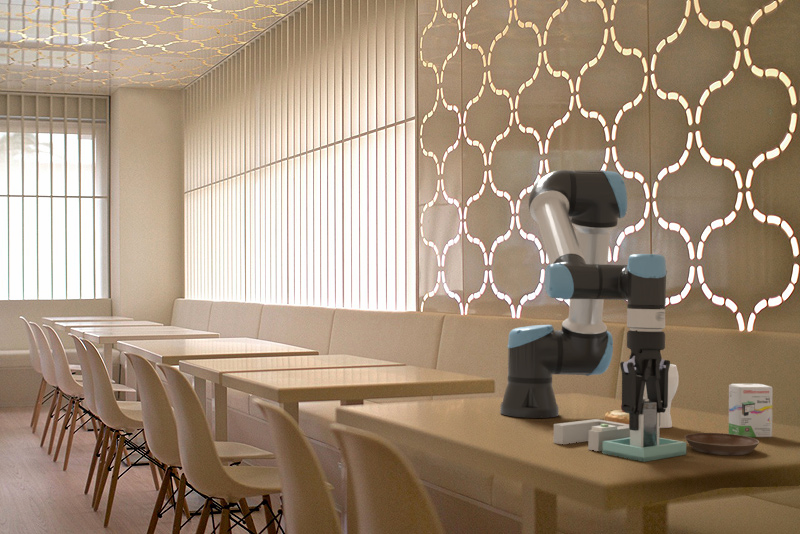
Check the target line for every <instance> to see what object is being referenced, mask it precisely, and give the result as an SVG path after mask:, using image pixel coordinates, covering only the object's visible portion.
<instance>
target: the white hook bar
mask: <svg viewBox="0 0 800 534" xmlns="http://www.w3.org/2000/svg"><path fill="white" fill-rule="evenodd" d="M629 437H630V429H629V424H623V423H617V422H611V421H605V419H604V420H603V419H598V418H594V419H587V420H578V421H569V422H560V423H554V424H553V438H552V440H553V443H554V444H556V445H557V444H558V445H562V444H563V445H568V444H569V443H570V444H577V443H582V442H583V443H584V442H588V443H587V444H588V446H587V450H589V451H592V450H594V451H593V452H597V451H599V452H602V450H603V441H608V440H615V439H622V438H629ZM576 442H577V443H576Z"/></svg>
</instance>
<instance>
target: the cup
mask: <svg viewBox="0 0 800 534" xmlns="http://www.w3.org/2000/svg"><path fill="white" fill-rule="evenodd" d="M679 377H680V375H679V371H678V368H677V365H676V364H672V363H670V367H669V371H668V406H667V408H663V409H666V410H665V412H664V413H663V412H660V427H659V429H666V428H667V429H668V428H672V427H673V423H672V415H671V406H672V401H673V399H674V397H675V395H676V393H677V391H678V387H679V381H680V379H679ZM643 398H648V397H647V390H646V382H645V389H644V395H643ZM661 402H662V401H661Z"/></svg>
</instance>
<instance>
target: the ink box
mask: <svg viewBox="0 0 800 534" xmlns="http://www.w3.org/2000/svg"><path fill="white" fill-rule="evenodd" d="M773 390H774V388H773V387H772V386H771V385H766V384H762V383H731V384H728V434H734V435H741V436H747V437H751V438H772V437H773V395H774V394H773V392H774V391H773Z"/></svg>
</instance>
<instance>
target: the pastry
mask: <svg viewBox="0 0 800 534" xmlns="http://www.w3.org/2000/svg"><path fill="white" fill-rule="evenodd" d="M603 418H604V420H605V421H611V422H617V423H623V424H629V413H625V411H623V410H622V403H621V404H620V409H615V410H610V411H609V410H608V411H606V413H604V417H603Z"/></svg>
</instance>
